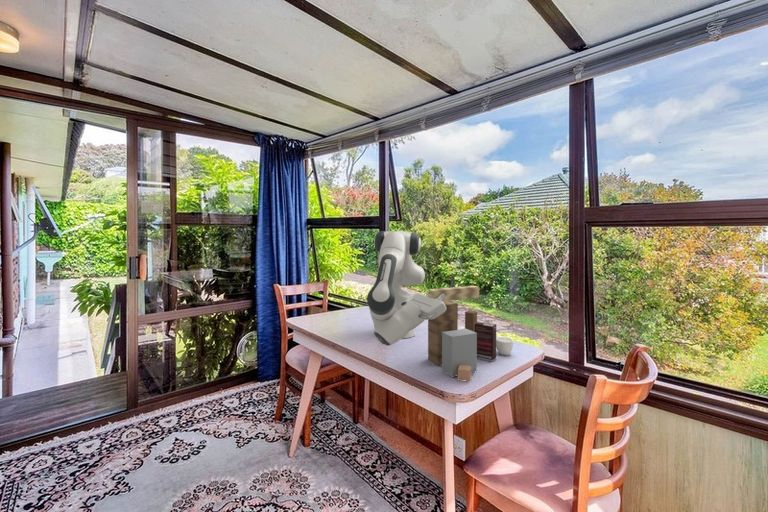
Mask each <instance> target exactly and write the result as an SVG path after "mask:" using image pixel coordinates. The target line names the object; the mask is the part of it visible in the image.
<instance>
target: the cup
mask: <svg viewBox="0 0 768 512" xmlns="http://www.w3.org/2000/svg"><path fill="white" fill-rule="evenodd" d="M513 347H514V340H513V339H512V338H510V337H505V336H499V337H496V351H497V352H498V354H500V355H501V356H508V355H510V354H511V352H512V350H513Z"/></svg>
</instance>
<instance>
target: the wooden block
mask: <svg viewBox="0 0 768 512" xmlns="http://www.w3.org/2000/svg"><path fill="white" fill-rule="evenodd" d="M477 322H478V311H477V310H466V311H465V312H464V329H468V330H471V331H473V332H475V323H477Z"/></svg>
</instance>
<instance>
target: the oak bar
mask: <svg viewBox="0 0 768 512" xmlns="http://www.w3.org/2000/svg"><path fill="white" fill-rule="evenodd" d="M441 293H443V294H445V298H444V299H443V300H442V301H451V302H453V301H459V300H469V299H478V298H479V299H480V286H477V285H468V286H455V287H454V286H452V287H444V288H443V287H442V288H431V289H428V294H429V297H430V298H433V299H436V298H438V297H439V294H441Z"/></svg>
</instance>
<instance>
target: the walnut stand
mask: <svg viewBox="0 0 768 512" xmlns="http://www.w3.org/2000/svg"><path fill="white" fill-rule="evenodd" d="M443 302H444V304H445V306H446V308H447V309H446V311H445V312H444V313H442V314H441V315H439V316H438V317H436V318H434V319H428V320H427V352H428V353H427V359H428V361H429V362H431V363H433V364H434V365H436V366H437V365H438V367H439V366H442V332H446V331H453V330H459V329H458V326H459V325H458V324H459V323H458V322H459V321H458V318H459V317H458V316H459V313H458V310H459V304H458V303H456V302H454V301H443Z"/></svg>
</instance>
